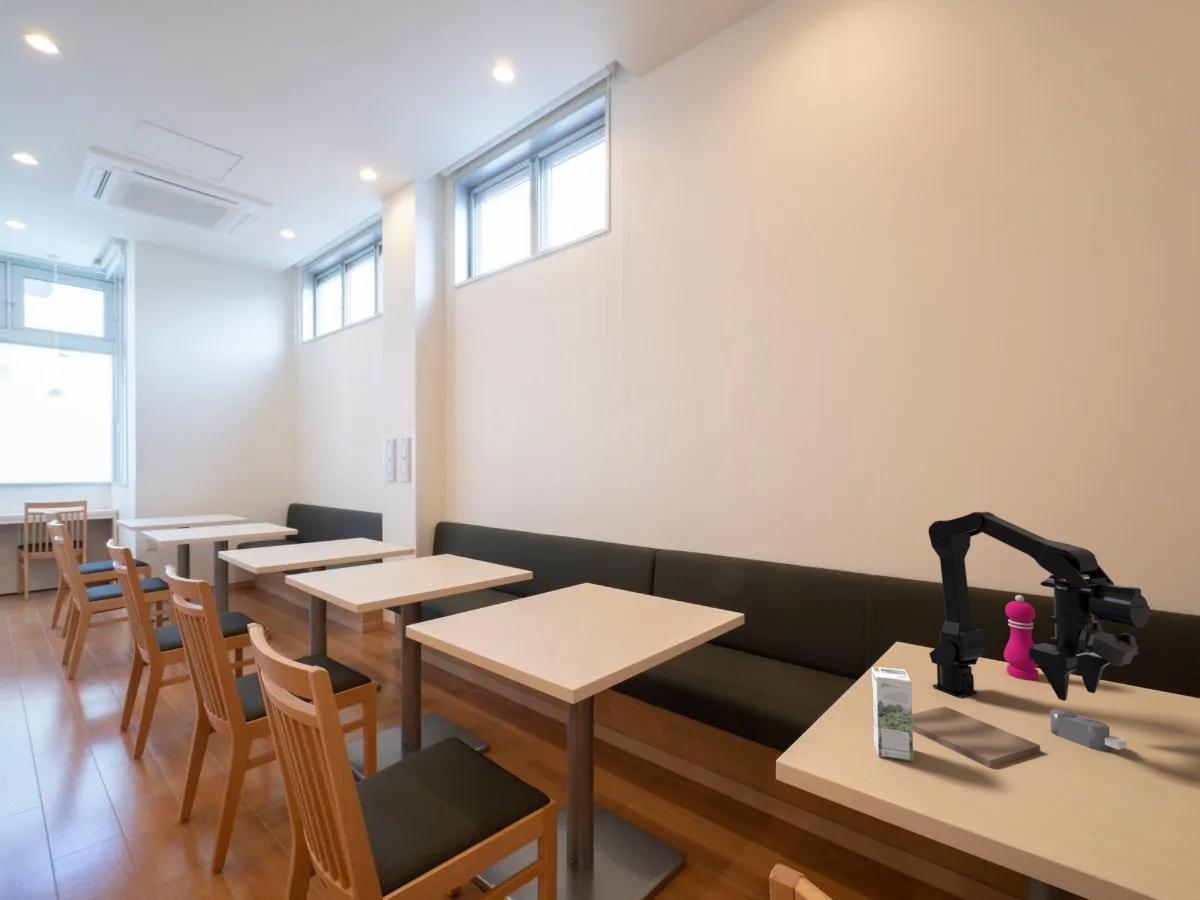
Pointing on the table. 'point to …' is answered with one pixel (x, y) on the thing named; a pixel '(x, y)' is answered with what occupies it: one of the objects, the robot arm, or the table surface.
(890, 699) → the syrup box
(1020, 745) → the walnut board
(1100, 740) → the charcoal usb stick
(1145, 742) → the table surface
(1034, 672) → the pepper mill
